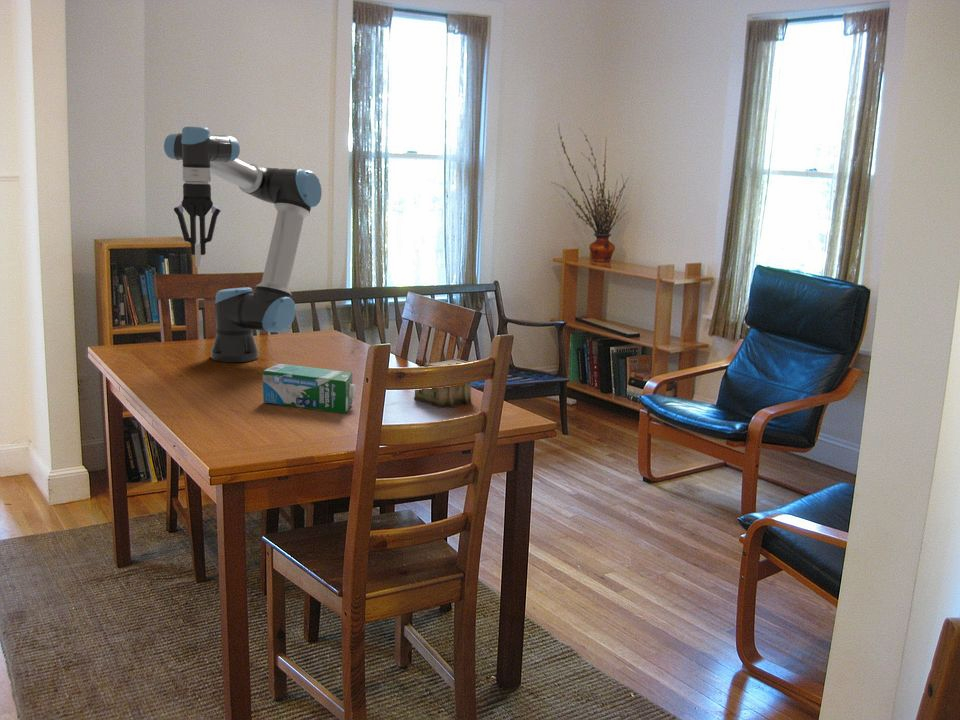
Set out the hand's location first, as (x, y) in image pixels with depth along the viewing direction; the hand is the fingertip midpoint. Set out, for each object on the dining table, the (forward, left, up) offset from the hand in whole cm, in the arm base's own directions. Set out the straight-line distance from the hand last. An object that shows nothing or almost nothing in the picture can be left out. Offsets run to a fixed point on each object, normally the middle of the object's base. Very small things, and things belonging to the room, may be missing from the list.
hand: (198, 266), depth 273 cm
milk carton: (+19, +21, -30) cm, 41 cm away
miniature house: (+19, +70, -35) cm, 81 cm away
